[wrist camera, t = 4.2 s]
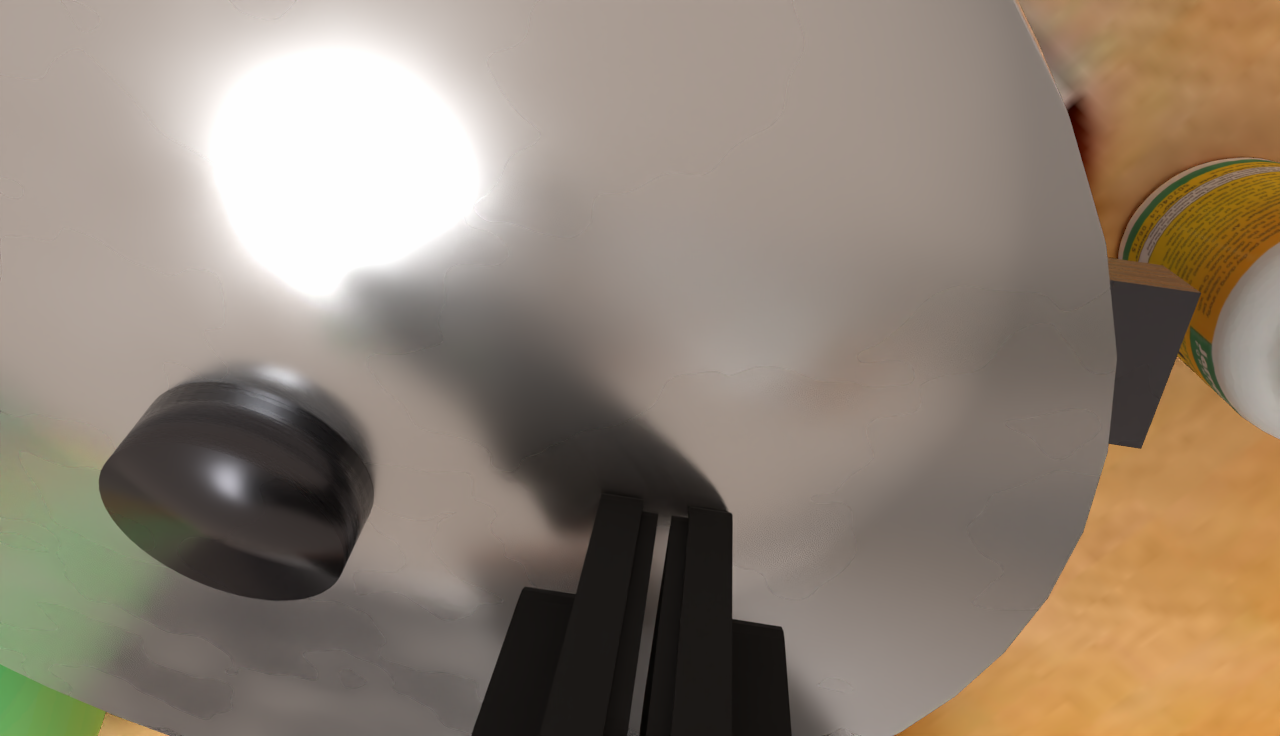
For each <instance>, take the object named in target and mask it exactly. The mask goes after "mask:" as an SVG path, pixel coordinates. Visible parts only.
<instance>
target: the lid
mask: <svg viewBox="0 0 1280 736" xmlns="http://www.w3.org/2000/svg"><path fill="white" fill-rule="evenodd" d="M1116 362H1117V351H1116V340H1115V330H1114V320H1113V310H1112V299H1111V289H1110V279H1109V269H1108V258H1107V248H1106V242H1105V239H1104V235H1103V232H1102V228H1101V225H1100V221H1099V218H1098V214H1097V211H1096V207H1095V204H1094V201H1093V197H1092V194H1091V190H1090V187H1089V183H1088V180H1087V176H1086V173H1085V169H1084V166H1083V163H1082V159H1081V156H1080V152H1079V149H1078V145H1077V142H1076V138H1075V135H1074V131H1073V128H1072V124H1071V121H1070V118H1069V115H1068V112H1067V110H1066V107H1065V105H1064V103H1063V100H1062V98H1061V96H1060V93H1059V91H1058V88H1057V86H1056V84H1055V81H1054V79H1053V77H1052V74H1051V72H1050V69H1049V67H1048V65H1047V62H1046V60H1045V58H1044V55H1043V53H1042V50H1041V48H1040V46H1039V43H1038V41H1037V39H1036V37H1035V35H1034V33H1033V31H1032V29H1031V27H1030V25H1029V23H1028V20H1027V18H1026V16H1025V14H1024V12H1023V10H1022V8H1021V6H1020V4H1019V2H1018V0H0V665H3V666H5V667H7V668H9V669H11V670H13V671H15V672H17V673H19V674H21V675H24V676H26V677H28V678H30V679H32V680H34V681H36V682H38V683H40V684H42V685H44V686H47V687H49V688H51V689H53V690H56V691H58V692H61V693H63V694H65V695H68V696H70V697H72V698H75V699H77V700H80V701H82V702H84V703H87V704H89V705H91V706H94V707H96V708H98V709H101V710H103V711H106V712H108V713H110V714H113V715H115V716H118V717H121V718H123V719H126V720H129V721H131V722H134V723H137V724H140V725H142V726H145V727H148V728H150V729H153V730H156V731H158V732H161V733H164V734H167V735H169V736H471V734H472V731H473V729H474V726H475V723H476V720H477V717H478V714H479V711H480V708H481V705H482V703H483V700H484V697H485V694H486V691H487V688H488V685H489V682H490V679H491V677H492V674H493V671H494V668H495V665H496V662H497V659H498V656H499V653H500V651H501V648H502V645H503V642H504V639H505V636H506V633H507V630H508V627H509V625H510V622H511V619H512V616H513V613H514V610H515V607H516V604H517V601H518V599H519V596H520V594H521V591H522V589H523V588H524V587H531V588H538V589H544V590H551V591H557V592H563V593H570V594H576V591H577V587H578V584H579V580H580V576H581V572H582V568H583V564H584V560H585V556H586V552H587V548H588V545H589V541H590V537H591V533H592V529H593V525H594V521H595V517H596V513H597V510H598V506H599V502H600V498H601V495H602V493H605V494H612V495H618V496H625V497H631V498H638V499H644V503H643V511H648V512H654V513H659V516H658V523H657V530H656V537H655V544H654V551H653V558H652V565H651V572H650V579H649V586H648V593H647V600H646V607H645V614H644V621H643V628H642V635H641V642H640V650H639V657H638V664H637V671H636V678H635V685H634V692H633V699H632V706H631V713H630V720H629V727H628V734H627V736H639V732H640V724H641V716H642V708H643V701H644V693H645V686H646V679H647V673H648V666H649V660H650V653H651V647H652V640H653V633H654V627H655V620H656V614H657V607H658V601H659V594H660V588H661V581H662V575H663V568H664V562H665V555H666V548H667V542H668V535H669V529H670V522H671V517H672V515H674V516H680V517H687V518H688V513H689V508H690V507H697V508H704V509H710V510H717V511H724V512H730V513H732V514H733V561H732V619H736V620H742V621H749V622H755V623H762V624H768V625H775V626H781V627H782V629H783V631H784V638H785V651H786V665H787V678H788V692H789V705H790V719H791V732H792V736H894V735H896V734H898V733H900V732H902V731H903V730H905V729H906V728H908V727H909V726H911V725H913V724H914V723H916V722H917V721H919V720H920V719H922V718H923V717H925V716H926V715H928V714H929V713H931V712H932V711H934V710H935V709H937V708H938V707H940V706H941V705H943V704H944V703H946V702H947V701H949V700H950V699H952V698H953V697H955V696H956V695H957V694H958V693H959V692H961V691H962V690H963V689H964V688H965V687H966V686H967V685H968V684H970V683H971V682H972V681H973V680H974V679H975V678H976V677H977V676H978V675H980V674H981V673H982V672H983V671H984V670H985V669H986V668H987V667H989V666H990V665H991V664H992V663H993V662H994V661H995V660H996V659H997V658H999V657H1000V656H1001V655H1002V654H1003V653H1004V652H1005V651H1006V650H1007V648H1008V647H1009V646H1010V645H1011V643H1012V642H1013V641H1014V640H1015V638H1016V637H1017V636H1018V635H1019V633H1020V632H1021V631H1022V630H1023V628H1024V627H1025V626H1026V625H1027V623H1028V622H1029V621H1030V620H1031V618H1032V617H1033V616H1034V615H1035V613H1036V612H1037V611H1038V610H1039V608H1040V607H1041V606H1042V605H1043V603H1044V602H1045V601H1046V600H1047V598H1048V597H1049V595H1050V593H1051V591H1052V589H1053V587H1054V585H1055V584H1056V582H1057V580H1058V578H1059V576H1060V574H1061V572H1062V570H1063V569H1064V567H1065V565H1066V563H1067V561H1068V559H1069V557H1070V556H1071V554H1072V552H1073V550H1074V548H1075V546H1076V544H1077V542H1078V541H1079V539H1080V537H1081V535H1082V533H1083V531H1084V528H1085V524H1086V521H1087V518H1088V515H1089V511H1090V508H1091V505H1092V501H1093V498H1094V495H1095V492H1096V488H1097V485H1098V482H1099V479H1100V475H1101V472H1102V469H1103V465H1104V462H1105V459H1106V456H1107V452H1108V444H1109V433H1110V423H1111V413H1112V403H1113V392H1114V382H1115V372H1116Z"/></svg>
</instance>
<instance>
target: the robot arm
mask: <svg viewBox="0 0 1280 736" xmlns="http://www.w3.org/2000/svg"><path fill="white" fill-rule="evenodd" d="M643 503H644V499H638V498H631V497H625V496H618V495H612V494H605V493H602V495H601V498H600V502H599V506H598V510H597V513H596V517H595V521H594V525H593V529H592V533H591V537H590V541H589V545H588V548H587V552H586V556H585V560H584V564H583V568H582V572H581V576H580V580H579V584H578V587H577V591H576V594H570V593H563V592H557V591H551V590H544V589H538V588H531V587H524V588H523V589H522V591H521V594H520V596H519V599H518V601H517V604H516V607H515V610H514V613H513V616H512V619H511V622H510V625H509V627H508V630H507V633H506V636H505V639H504V642H503V645H502V648H501V651H500V653H499V656H498V659H497V662H496V665H495V668H494V671H493V674H492V677H491V679H490V682H489V685H488V688H487V691H486V694H485V697H484V700H483V703H482V705H481V708H480V711H479V714H478V717H477V720H476V723H475V726H474V729H473V731H472V734H471V736H627V734H628V727H629V720H630V713H631V706H632V699H633V692H634V685H635V678H636V671H637V664H638V657H639V650H640V642H641V635H642V628H643V621H644V614H645V607H646V600H647V593H648V586H649V579H650V572H651V565H652V558H653V551H654V544H655V537H656V530H657V523H658V516H659V513H654V512H648V511H643ZM732 561H733V514H732V513H730V512H724V511H717V510H710V509H704V508H697V507H690V508H689V513H688V518H687V517H680V516H674V515H672V517H671V522H670V529H669V535H668V542H667V548H666V555H665V562H664V568H663V575H662V581H661V588H660V594H659V601H658V607H657V614H656V620H655V627H654V633H653V640H652V647H651V653H650V660H649V666H648V673H647V679H646V686H645V693H644V701H643V708H642V716H641V724H640V732H639V736H792V732H791V719H790V705H789V692H788V678H787V665H786V651H785V638H784V631H783V629H782V627H781V626H775V625H768V624H762V623H755V622H749V621H742V620H736V619H732Z"/></svg>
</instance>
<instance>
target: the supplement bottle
mask: <svg viewBox="0 0 1280 736" xmlns="http://www.w3.org/2000/svg"><path fill="white" fill-rule="evenodd" d="M1118 259H1121V260H1128V261H1135V262H1143V263H1150V264H1157V265H1163V266H1164V267H1166V268H1167V269H1169V270H1170V271H1171V272H1173V273H1174V274H1176V275H1177V276H1178V277H1180V278H1181V279H1183V280H1184V281H1185V282H1187V283H1188V284H1189V285H1191V286H1192V287H1194V288H1195V289H1196V290H1198V291H1199V292H1201V295H1200V298H1199V300H1198V303H1197V306H1196V308H1195V311H1194V313H1193V316H1192V318H1191V321H1190V324H1189V326H1188V329H1187V331H1186V334H1185V336H1184V339H1183V342H1182V344H1181V347H1180V349H1179V352H1178V355H1177V356H1178V357H1179V358H1180V359H1181V360H1182V361H1183V362H1184V363H1185V364H1186V365H1187V366H1188V367H1190V369H1191V370H1192V371H1194V372H1195V373H1196V374H1197V375H1198V376H1199V377H1200V378H1201V379H1202V380H1203V381H1204V382H1205V383H1206V384H1207V385H1209V386H1210V387H1211V388H1212V389H1213V390H1214V391H1215V392H1216V393H1217V394H1218V395H1219V396H1220V397H1222V398H1223V399H1224V400H1225V401H1226V402H1227V403H1228V404H1229V405H1230V406H1231V407H1232V408H1233V409H1234V410H1235V411H1236V412H1237V413H1238V414H1239V415H1240V416H1242V417H1243V418H1245V419H1246V420H1248V421H1249V422H1250V423H1252V424H1253V425H1255V426H1256V427H1258V428H1259V429H1261V430H1262V431H1264V432H1266V433H1268V434H1270V435H1272V436H1274V437H1276V438H1278V439H1280V163H1279V162H1275V161H1271V160H1267V159H1261V158H1231V159H1222V160H1217V161H1211V162H1208V163H1204V164H1201V165H1198V166H1195V167H1193V168H1190V169H1188V170H1186V171H1183V172H1182V173H1180V174H1178V175H1176V176H1174V177H1173V178H1171V179H1170V180H1168V181H1167V182H1165V183H1164V184H1162V185H1161V186H1160V187H1158V188H1157V189H1156V190H1155V191H1154V192H1153V193H1152V194H1151V195H1150V196H1149V197H1148V198H1147V199H1146V200H1145V201H1144V202H1143V203H1142V204H1141V205H1140V207H1139V208H1138V209H1137V210H1136V212H1135V213H1134V215H1133V216H1132V218H1131V219H1130V221H1129V222H1128V224H1127V227H1126V230H1125V233H1124V235H1123V237H1122V240H1121V243H1120V247H1119V253H1118Z"/></svg>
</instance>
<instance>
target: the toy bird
mask: <svg viewBox="0 0 1280 736" xmlns="http://www.w3.org/2000/svg"><path fill="white" fill-rule="evenodd" d="M105 713H106V711H103V710H101V709H98V708H96V707H94V706H91V705H89V704H87V703H84V702H82V701H80V700H77V699H75V698H72V697H70V696H68V695H65V694H63V693H61V692H58V691H56V690H53V689H51V688H49V687H47V686H44V685H42V684H40V683H38V682H36V681H34V680H32V679H30V678H28V677H26V676H24V675H21V674H19V673H17V672H15V671H13V670H11V669H9V668H7V667H5V666H3V665H0V736H98V733H99V731H100V728H101V725H102V723H103V720H104V716H105Z"/></svg>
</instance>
